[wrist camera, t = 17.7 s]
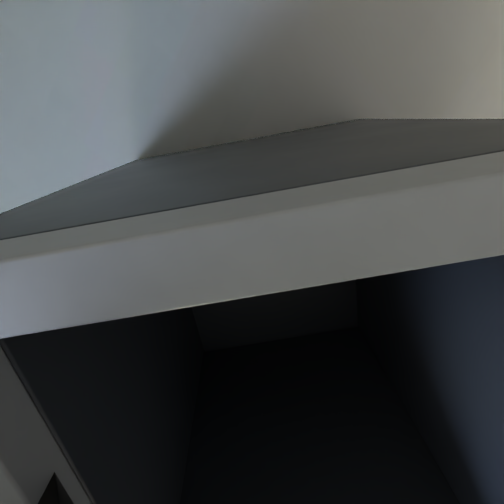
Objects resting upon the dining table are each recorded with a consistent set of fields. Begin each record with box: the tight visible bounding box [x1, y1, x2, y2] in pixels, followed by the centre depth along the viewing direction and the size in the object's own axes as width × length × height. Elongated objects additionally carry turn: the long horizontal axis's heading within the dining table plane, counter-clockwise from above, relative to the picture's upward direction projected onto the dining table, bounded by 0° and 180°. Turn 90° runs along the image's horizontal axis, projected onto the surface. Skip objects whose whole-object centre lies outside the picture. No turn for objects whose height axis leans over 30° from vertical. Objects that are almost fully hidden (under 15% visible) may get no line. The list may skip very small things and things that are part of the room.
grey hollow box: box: [0, 119, 504, 504], centre depth 12 cm, size 13×11×12 cm
